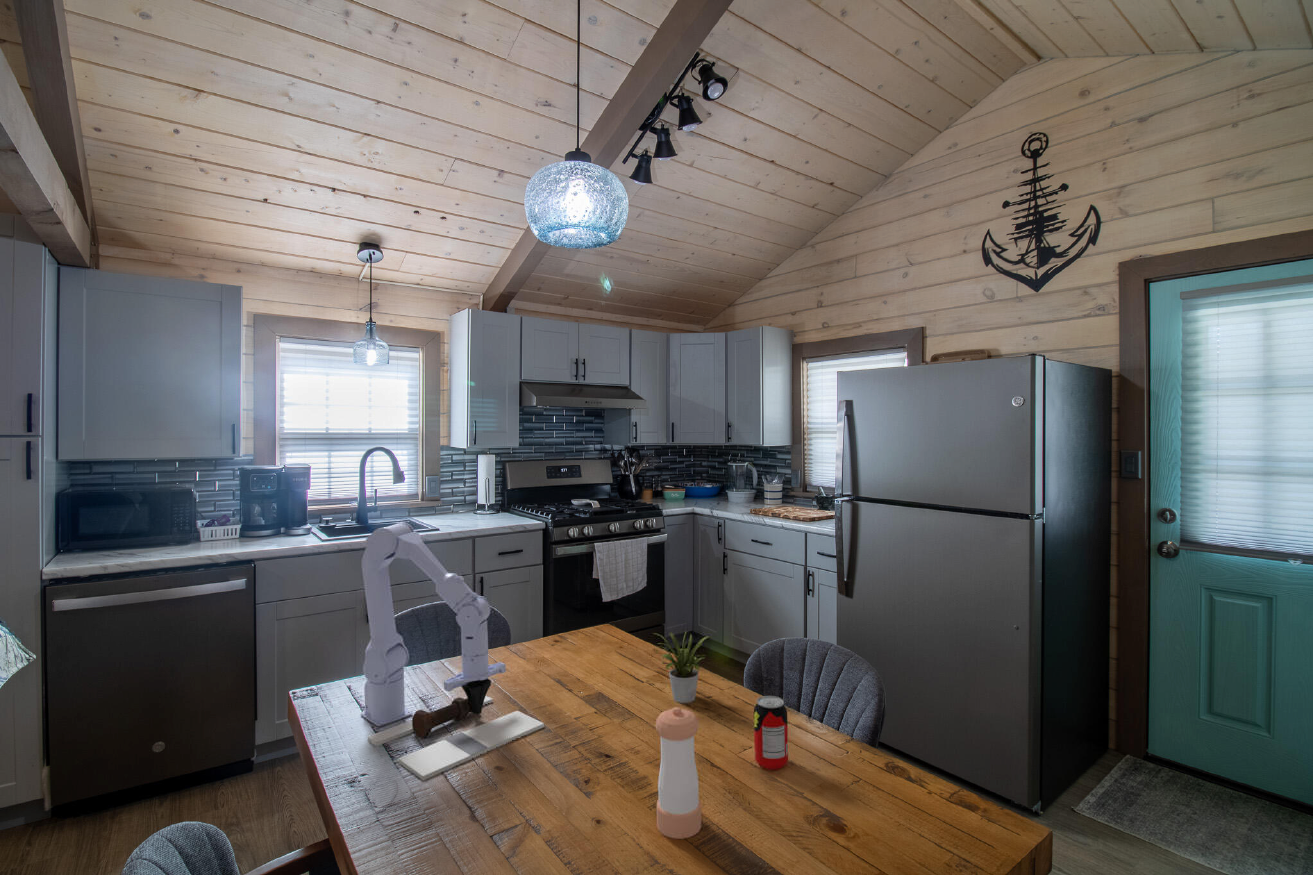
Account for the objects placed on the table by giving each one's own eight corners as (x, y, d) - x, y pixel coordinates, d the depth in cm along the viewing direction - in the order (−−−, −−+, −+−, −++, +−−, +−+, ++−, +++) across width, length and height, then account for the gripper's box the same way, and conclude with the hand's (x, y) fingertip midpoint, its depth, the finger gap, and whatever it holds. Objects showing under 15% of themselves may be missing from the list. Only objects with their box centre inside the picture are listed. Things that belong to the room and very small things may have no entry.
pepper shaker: (655, 813, 108) (652, 699, 108) (698, 809, 108) (695, 697, 108) (658, 840, 101) (656, 719, 100) (704, 837, 101) (702, 716, 101)
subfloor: (367, 740, 136) (367, 736, 136) (483, 697, 156) (483, 694, 156) (422, 780, 120) (422, 775, 120) (544, 726, 140) (543, 723, 140)
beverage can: (790, 757, 125) (789, 696, 125) (785, 774, 119) (784, 710, 119) (758, 753, 127) (756, 692, 127) (752, 769, 121) (750, 706, 121)
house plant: (639, 706, 150) (638, 636, 150) (661, 684, 163) (660, 619, 162) (697, 715, 144) (696, 643, 144) (715, 691, 157) (714, 625, 157)
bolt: (477, 719, 148) (420, 743, 136) (465, 704, 151) (408, 726, 139) (486, 700, 147) (428, 723, 135) (473, 685, 149) (416, 706, 137)
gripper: (455, 666, 137) (456, 729, 137) (512, 647, 147) (514, 706, 147) (438, 658, 141) (440, 719, 142) (495, 641, 152) (496, 698, 152)
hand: (476, 712), depth 145 cm, fingers closed
